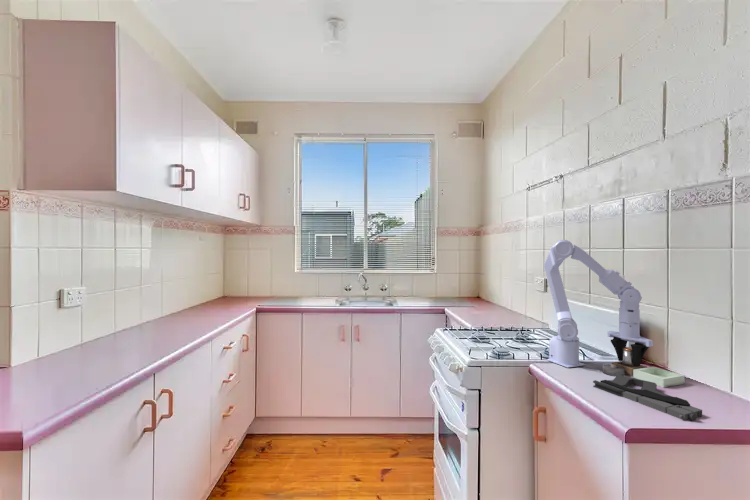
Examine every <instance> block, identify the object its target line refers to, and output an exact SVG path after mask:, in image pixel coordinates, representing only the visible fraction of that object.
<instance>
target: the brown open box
mask: <svg viewBox="0 0 750 500" xmlns="http://www.w3.org/2000/svg"><path fill="white" fill-rule="evenodd" d="M647 367H648V366H646V365H643V364H640V366H636V367H627V366H624V365H623V361H619V360H618V361H615V362H614V361H613V362H611V363H610V364H603V365H602V373H603V374H605V375H607V376H612V377H616V376H617V375H621V376H625V375H629V376H630V377H631V376H633V370H634V369H641V368H647Z"/></svg>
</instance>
